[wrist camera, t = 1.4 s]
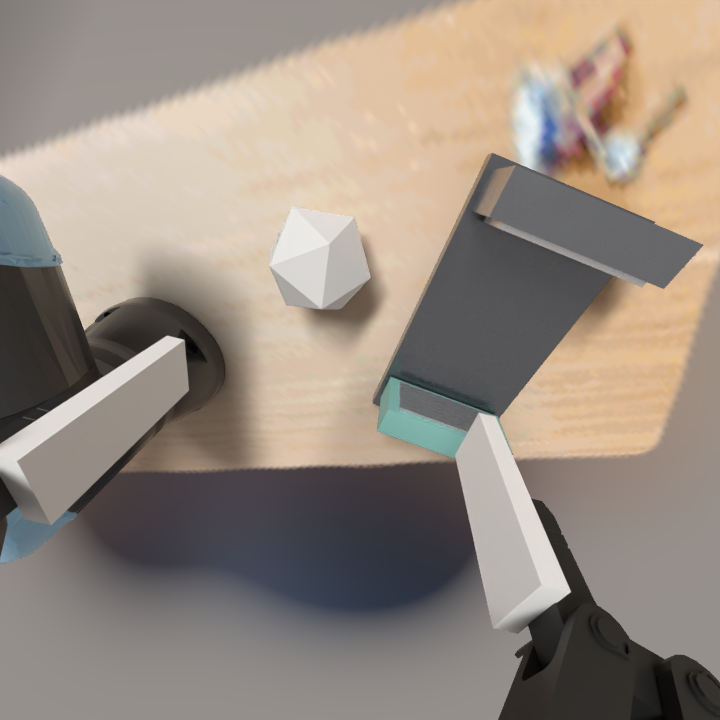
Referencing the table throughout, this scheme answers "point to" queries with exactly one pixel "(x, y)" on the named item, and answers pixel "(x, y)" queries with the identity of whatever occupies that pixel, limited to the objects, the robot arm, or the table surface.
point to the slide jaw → (425, 418)
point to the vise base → (521, 283)
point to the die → (318, 259)
